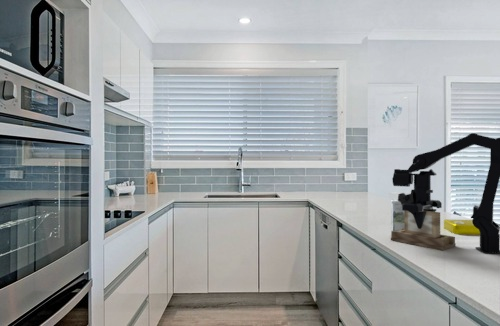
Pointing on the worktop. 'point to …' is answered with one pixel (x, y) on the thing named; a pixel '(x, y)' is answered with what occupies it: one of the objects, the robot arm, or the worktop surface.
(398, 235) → the walnut ledge
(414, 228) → the tan box
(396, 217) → the syrup box
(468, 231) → the element tile
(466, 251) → the worktop surface
